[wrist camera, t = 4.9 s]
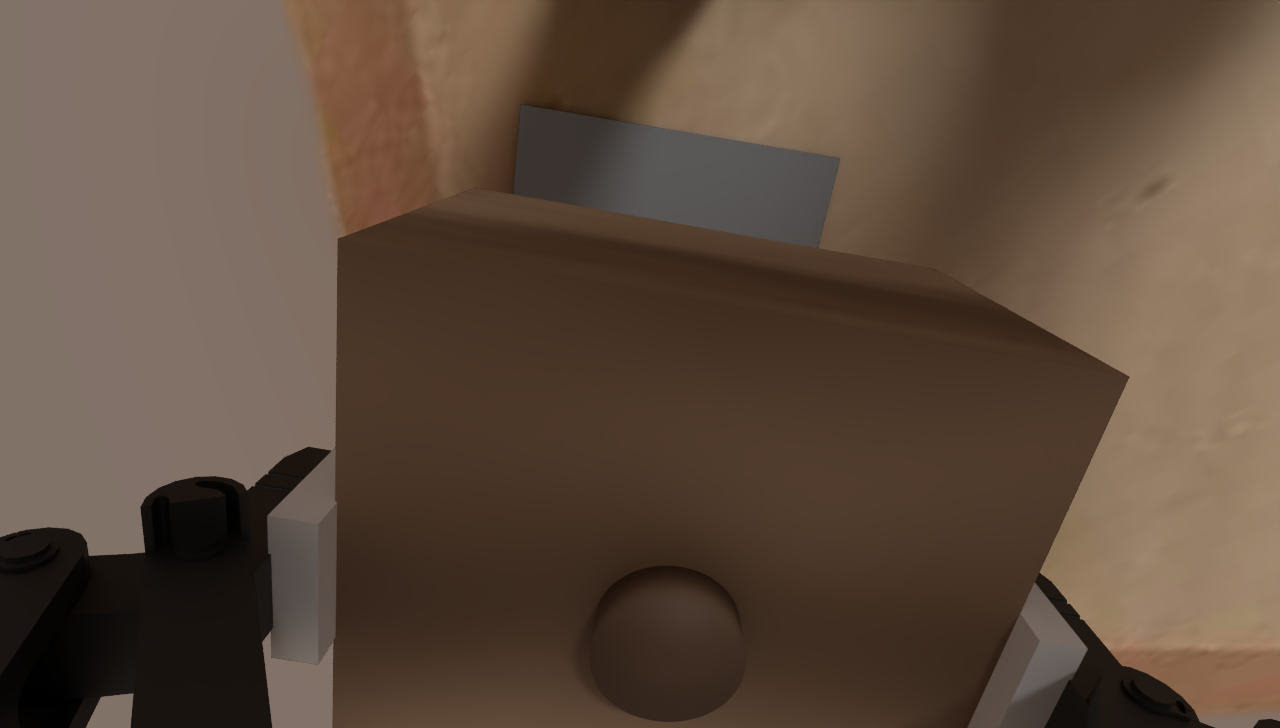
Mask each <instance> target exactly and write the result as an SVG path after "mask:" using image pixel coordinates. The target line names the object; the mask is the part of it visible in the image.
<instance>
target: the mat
mask: <svg viewBox="0 0 1280 728" xmlns="http://www.w3.org/2000/svg"><path fill="white" fill-rule="evenodd" d="M839 161H840V158H834V157H828V156H823V155H817V154H811V153H805V152H799V151H793V150H787V149H781V148H775V147H770V146H764V145H758V144H752V143H746V142H740V141H734V140H728V139H722V138H716V137H711V136H705V135H699V134H693V133H687V132H681V131H675V130H669V129H663V128H658V127H652V126H646V125H640V124H634V123H628V122H622V121H616V120H610V119H605V118H599V117H593V116H587V115H581V114H575V113H569V112H563V111H557V110H551V109H546V108H540V107H534V106H528V105H522V104H521V109H520V120H519V131H518V143H517V154H516V165H515V176H514V187H513V194H514V195H520V196H526V197H531V198H537V199H543V200H548V201H554V202H559V203H565V204H571V205H576V206H582V207H588V208H593V209H599V210H605V211H610V212H616V213H621V214H627V215H633V216H638V217H644V218H650V219H655V220H661V221H667V222H672V223H678V224H683V225H689V226H695V227H700V228H706V229H712V230H717V231H723V232H729V233H734V234H740V235H745V236H751V237H757V238H762V239H768V240H774V241H779V242H785V243H791V244H796V245H802V246H808V247H813V248H818V244H819V240H820V236H821V232H822V228H823V224H824V220H825V217H826V213H827V209H828V205H829V201H830V197H831V193H832V189H833V185H834V181H835V177H836V173H837V169H838V165H839Z"/></svg>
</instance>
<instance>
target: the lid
mask: <svg viewBox="0 0 1280 728" xmlns="http://www.w3.org/2000/svg"><path fill="white" fill-rule="evenodd" d="M336 367H337V368H336V458H335V502H337V552H336V636H335V639H334V647H333V728H968V725H969V723H970V721H971V719H972V717H973V715H974V712H975V710H976V708H977V706H978V704H979V702H980V699H981V697H982V695H983V693H984V691H985V688H986V686H987V684H988V682H989V680H990V678H991V675H992V673H993V671H994V669H995V667H996V665H997V662H998V660H999V658H1000V656H1001V654H1002V652H1003V649H1004V647H1005V645H1006V643H1007V641H1008V639H1009V636H1010V634H1011V632H1012V630H1013V628H1014V626H1015V623H1016V621H1017V619H1018V617H1019V615H1020V613H1021V611H1022V609H1023V607H1024V604H1025V602H1026V600H1027V598H1028V596H1029V594H1030V591H1031V589H1032V587H1033V585H1034V583H1035V581H1036V578H1037V576H1038V574H1039V572H1040V570H1041V568H1042V565H1043V563H1044V561H1045V559H1046V557H1047V555H1048V552H1049V550H1050V548H1051V546H1052V544H1053V542H1054V539H1055V537H1056V535H1057V533H1058V531H1059V529H1060V526H1061V524H1062V522H1063V520H1064V518H1065V516H1066V513H1067V511H1068V509H1069V507H1070V505H1071V503H1072V500H1073V498H1074V496H1075V494H1076V492H1077V490H1078V487H1079V485H1080V483H1081V481H1082V479H1083V477H1084V474H1085V472H1086V470H1087V468H1088V466H1089V464H1090V461H1091V459H1092V457H1093V455H1094V453H1095V451H1096V448H1097V446H1098V444H1099V442H1100V440H1101V438H1102V435H1103V433H1104V431H1105V429H1106V427H1107V425H1108V422H1109V420H1110V418H1111V416H1112V414H1113V412H1114V409H1115V407H1116V405H1117V403H1118V401H1119V398H1120V396H1121V394H1122V392H1123V390H1124V388H1125V385H1126V383H1127V381H1128V379H1129V376H1127V375H1125V374H1124V373H1122V372H1120V371H1118V370H1116V369H1115V368H1113V367H1111V366H1109V365H1107V364H1106V363H1104V362H1102V361H1100V360H1098V359H1097V358H1095V357H1093V356H1091V355H1089V354H1088V353H1086V352H1084V351H1082V350H1080V349H1079V348H1077V347H1075V346H1073V345H1071V344H1070V343H1068V342H1066V341H1064V340H1062V339H1061V338H1059V337H1057V336H1055V335H1053V334H1052V333H1050V332H1048V331H1046V330H1044V329H1043V328H1041V327H1039V326H1037V325H1035V324H1034V323H1032V322H1030V321H1028V320H1026V319H1025V318H1023V317H1021V316H1019V315H1017V314H1016V313H1014V312H1012V311H1010V310H1008V309H1007V308H1005V307H1003V306H1001V305H999V304H997V303H996V302H994V301H992V300H990V299H988V298H987V297H985V296H983V295H981V294H979V293H978V292H976V291H974V290H972V289H970V288H969V287H967V286H965V285H963V284H961V283H960V282H958V281H956V280H954V279H952V278H951V277H949V276H947V275H945V274H943V273H942V272H940V271H938V270H936V269H932V268H926V267H920V266H915V265H909V264H903V263H898V262H892V261H886V260H881V259H875V258H870V257H864V256H858V255H853V254H847V253H841V252H836V251H830V250H824V249H819V248H813V247H808V246H802V245H796V244H791V243H785V242H779V241H774V240H768V239H762V238H757V237H751V236H745V235H740V234H734V233H729V232H723V231H717V230H712V229H706V228H700V227H695V226H689V225H683V224H678V223H672V222H667V221H661V220H655V219H650V218H644V217H638V216H633V215H627V214H621V213H616V212H610V211H605V210H599V209H593V208H588V207H582V206H576V205H571V204H565V203H559V202H554V201H548V200H543V199H537V198H531V197H526V196H520V195H514V194H509V193H503V192H497V191H492V190H486V189H481V188H473V189H471V190H468V191H465V192H463V193H460V194H457V195H455V196H452V197H449V198H446V199H444V200H441V201H438V202H436V203H433V204H430V205H428V206H425V207H422V208H420V209H417V210H414V211H411V212H409V213H406V214H403V215H401V216H398V217H395V218H393V219H390V220H387V221H385V222H382V223H379V224H376V225H374V226H371V227H368V228H366V229H363V230H360V231H358V232H355V233H352V234H350V235H347V236H344V237H341V238H339V239H338V268H337V363H336Z"/></svg>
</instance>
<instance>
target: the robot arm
mask: <svg viewBox="0 0 1280 728" xmlns="http://www.w3.org/2000/svg"><path fill="white" fill-rule="evenodd" d="M335 458H336V447H335V448H334V449H333V450H332V451H330V450H325V449H319V448H312V447H307V448H305V449H302V450H300V451H298V452H296V453H294V454H291V455H289V456H287V457H285V458H283V459H282V460H281V461H280V462H279V463H278V464H276V465H275V466H274V467H273V468H272V469H271V470H270V471H269V472H268V475H266V474H265V476H263V477H262V478H261V479H260V480H259V481H258V482H256V484H255V487H253V486H252V487H251V488H250V489H249V490H246V489H245V487H244V485H243V484H241V483H239V482H237V481H235V480H233V479H228V478H222V477H216V476H214V477H213V476H210V477H194V478H189V479H184V480H179V481H175V482H172V483H170V484H168V485H165V486H162V487H160V488H158V489H157V490H155V491H154V492H152V493H151V494H150V495H148V496H147V497H146V498H145V500H144V502H143V504H142V506H141V517H142V525H143V535H144V544H145V553H137V554H119V555H99V556H89V555H88V548H87V542H86V540H85V539H84V537H83V536H82V535H81V534H80V533H77V532H75V531H72V530H70V529H64V528H49V527H48V528H40V529H30V530H25V531H19V532H17V533H12V534H9V535H6V536H3V537H0V728H86V726H87V724H88V722H89V720H90V718H91V716H92V714H93V712H94V710H95V708H96V706H97V704H98V702H99V700H100V698H101V697H103V696H112V695H120V694H130V693H134V695H133V707H132V718H131V728H272V723H271V713H270V705H269V696H268V688H267V679H266V670H265V662H264V653H263V645H262V641H263V640H264V639H265V637H266V636H267V635H268V634H269V632H270V631H271V655H272V656H271V657H272V658H277V659H283V660H290V661H297V662H303V663H309V664H315V665H318V664H319V663H320V661H321V660H322V658H323V656H324V655H325V653H326V652H327V650H328V648H329V647H330V645H331V644H332V642H333V641H334V639H335V636H336V552H337V502H335ZM968 728H1214V727H1211V726H1208V725H1206V724H1203V723H1201V722H1199V719H1198V717H1197V715H1196V713H1195V711H1194V710H1193V708H1192V707H1191V706H1190V705H1189V704H1188V703H1187V702H1186V701H1185V700H1184V698H1183V697H1181V696H1180V695H1179V694H1178V693H1176V692H1175V691H1174V690H1172V689H1171V688H1170V687H1169V686H1167V685H1166V684H1164V683H1162V682H1161V681H1159V680H1157V679H1155V678H1154V677H1152V676H1150V675H1148V674H1146V673H1144V672H1141V671H1138V670H1136V669H1133V668H1131V667H1125V666H1121V664H1120V663H1119V662H1118V661H1117V660H1116V658H1115V657H1114V656H1113V655H1112V654H1111V652H1110V651H1109V650H1108V649H1107V648H1106V646H1105V645H1104V644H1103V643H1102V642H1101V640H1100V639H1099V638H1098V637H1097V636H1096V634H1095V633H1094V632H1093V631H1092V630H1091V628H1090V627H1089V626H1088V625H1087V624H1086V623H1085V621H1084V620H1081V619H1080V615H1079V614H1078V613H1077V612H1076V611H1075V609H1074V608H1073V607H1072V606H1071V605H1070V604H1067V600H1066V599H1065V597H1064V596H1063V595H1062V594H1061V593H1060V591H1059V590H1058V589H1057V588H1056V587H1055V585H1054V584H1053V583H1052V582H1051V581H1050V580H1048V579H1047V578H1046V577H1044V576H1043V575H1042V574H1041V573H1039V574H1038V576H1037V578H1036V581H1035V583H1034V585H1033V587H1032V589H1031V591H1030V594H1029V596H1028V598H1027V600H1026V602H1025V604H1024V607H1023V609H1022V611H1021V613H1020V615H1019V617H1018V619H1017V621H1016V623H1015V626H1014V628H1013V630H1012V632H1011V634H1010V636H1009V639H1008V641H1007V643H1006V645H1005V647H1004V649H1003V652H1002V654H1001V656H1000V658H999V660H998V662H997V665H996V667H995V669H994V671H993V673H992V675H991V678H990V680H989V682H988V684H987V686H986V688H985V691H984V693H983V695H982V697H981V699H980V702H979V704H978V706H977V708H976V710H975V712H974V715H973V717H972V719H971V721H970V723H969V725H968ZM1254 728H1280V721H1277V720H1273V719H1265V720H1259V721H1258V722H1257V724H1256V725H1255V726H1254Z"/></svg>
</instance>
